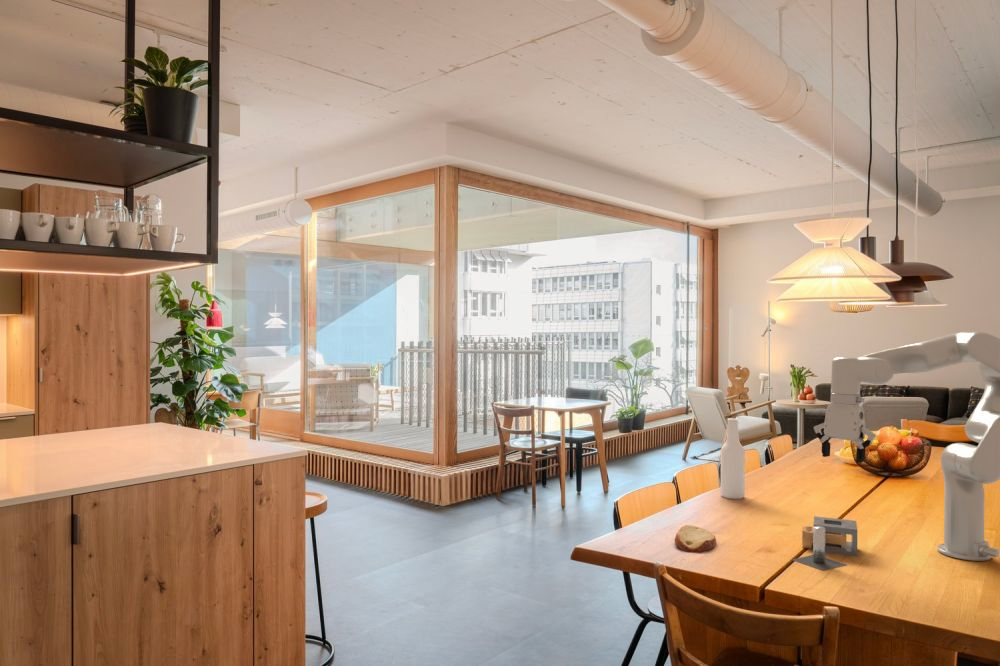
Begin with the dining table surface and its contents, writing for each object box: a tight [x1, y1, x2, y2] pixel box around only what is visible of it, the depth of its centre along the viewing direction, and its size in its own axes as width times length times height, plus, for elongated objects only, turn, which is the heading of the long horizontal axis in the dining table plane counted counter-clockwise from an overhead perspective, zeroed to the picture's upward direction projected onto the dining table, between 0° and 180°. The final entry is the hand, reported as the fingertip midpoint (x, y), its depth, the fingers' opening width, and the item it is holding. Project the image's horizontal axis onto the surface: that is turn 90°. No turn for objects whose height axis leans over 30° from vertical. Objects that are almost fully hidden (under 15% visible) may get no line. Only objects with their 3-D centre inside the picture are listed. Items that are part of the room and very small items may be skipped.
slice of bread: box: [674, 524, 717, 554], centre depth 207 cm, size 18×18×4 cm
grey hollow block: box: [801, 515, 858, 558], centre depth 199 cm, size 14×10×8 cm
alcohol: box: [720, 417, 746, 500], centre depth 263 cm, size 9×9×30 cm
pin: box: [812, 525, 826, 564], centre depth 187 cm, size 3×3×10 cm
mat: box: [791, 554, 847, 572], centre depth 187 cm, size 10×10×1 cm
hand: (842, 459), depth 197 cm, fingers open, 9 cm apart
